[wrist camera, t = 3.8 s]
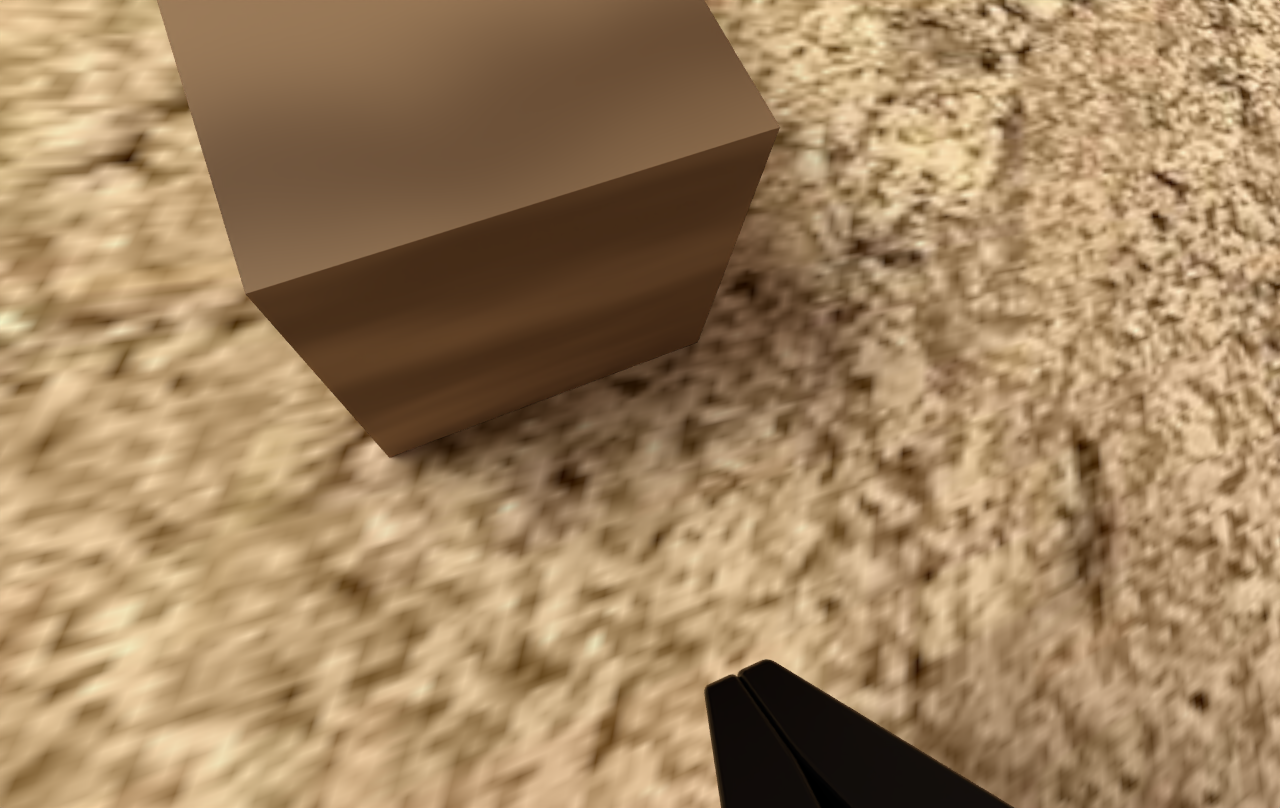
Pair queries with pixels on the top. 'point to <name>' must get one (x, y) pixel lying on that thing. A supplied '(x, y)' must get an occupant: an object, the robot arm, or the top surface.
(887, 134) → the top surface
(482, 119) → the walnut block
